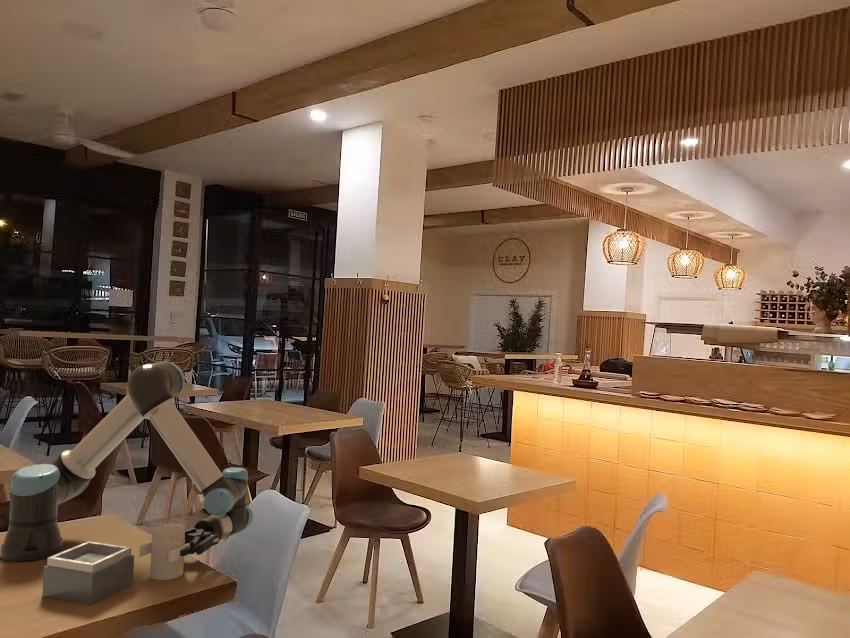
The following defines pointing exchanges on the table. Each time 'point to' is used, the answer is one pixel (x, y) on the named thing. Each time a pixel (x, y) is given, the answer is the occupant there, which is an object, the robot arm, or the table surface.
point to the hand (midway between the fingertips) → (155, 554)
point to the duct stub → (88, 572)
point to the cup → (166, 551)
